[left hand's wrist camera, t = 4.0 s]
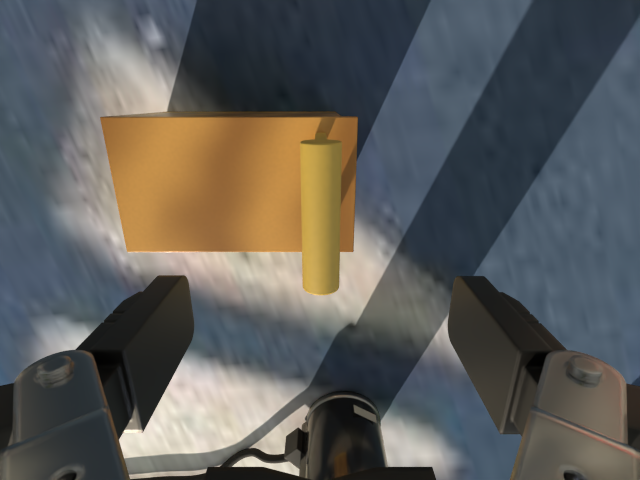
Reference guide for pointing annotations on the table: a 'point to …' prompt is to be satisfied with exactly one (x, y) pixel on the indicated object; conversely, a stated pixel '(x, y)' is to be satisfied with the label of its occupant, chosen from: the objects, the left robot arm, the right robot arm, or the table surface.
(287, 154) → the lid
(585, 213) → the table surface
